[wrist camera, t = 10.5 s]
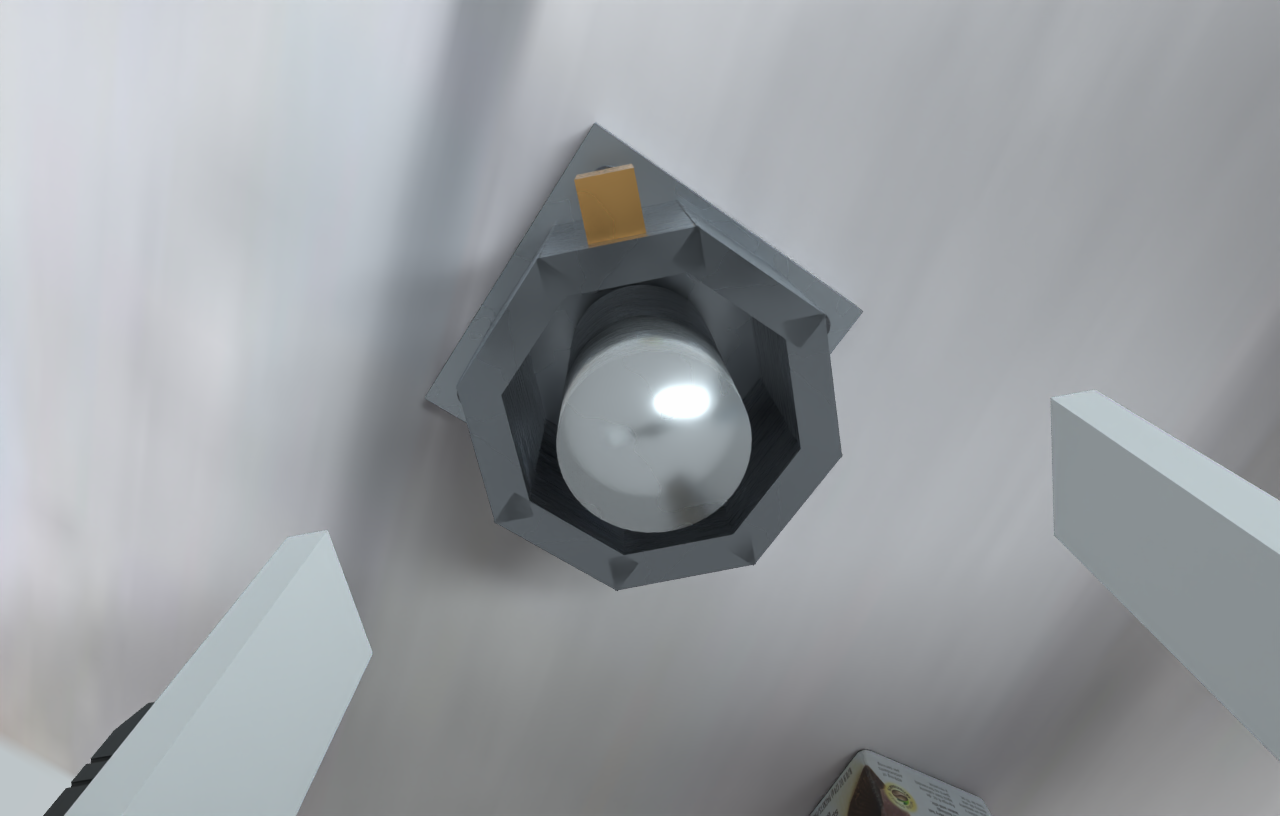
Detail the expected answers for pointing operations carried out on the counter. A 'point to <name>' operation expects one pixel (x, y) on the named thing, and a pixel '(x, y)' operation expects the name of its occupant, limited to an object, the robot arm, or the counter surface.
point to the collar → (776, 404)
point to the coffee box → (894, 792)
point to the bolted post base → (643, 365)
